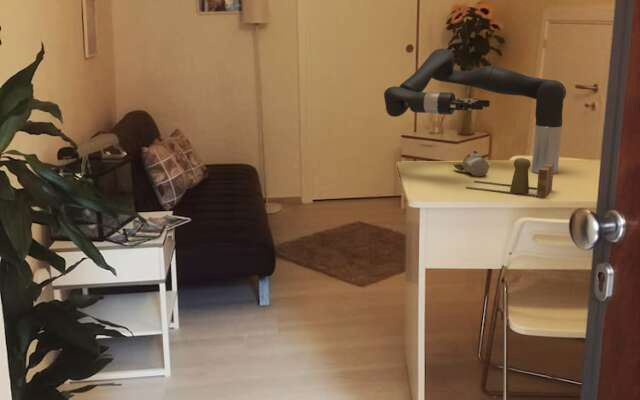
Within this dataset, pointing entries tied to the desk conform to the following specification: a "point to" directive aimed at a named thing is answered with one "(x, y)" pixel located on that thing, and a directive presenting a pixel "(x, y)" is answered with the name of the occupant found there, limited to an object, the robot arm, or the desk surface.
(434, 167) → the desk surface
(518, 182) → the cork
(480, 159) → the ceramic sculpture
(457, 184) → the desk surface
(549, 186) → the lane
